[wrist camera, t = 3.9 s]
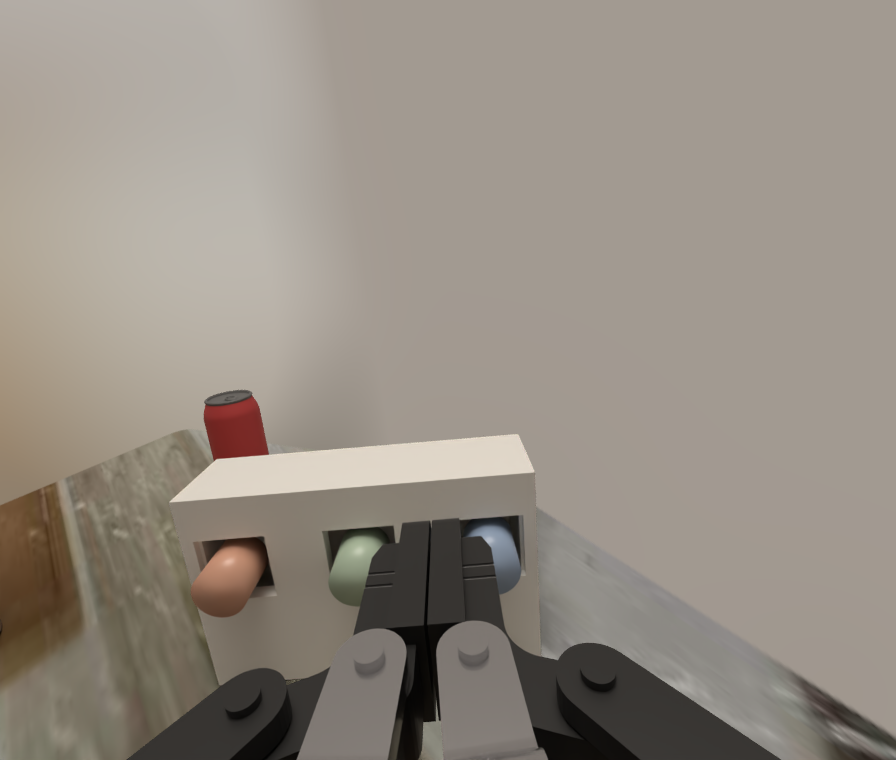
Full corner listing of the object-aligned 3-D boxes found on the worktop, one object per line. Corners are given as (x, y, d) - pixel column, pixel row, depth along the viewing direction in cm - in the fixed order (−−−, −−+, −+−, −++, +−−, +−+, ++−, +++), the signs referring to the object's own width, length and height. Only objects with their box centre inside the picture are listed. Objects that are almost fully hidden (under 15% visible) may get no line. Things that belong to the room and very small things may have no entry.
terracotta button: (198, 619, 26) (185, 573, 26) (225, 577, 30) (215, 536, 29) (251, 615, 26) (240, 569, 26) (273, 573, 30) (264, 532, 29)
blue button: (468, 597, 26) (463, 550, 26) (464, 558, 30) (461, 515, 29) (522, 593, 26) (520, 546, 26) (512, 554, 30) (510, 511, 29)
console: (219, 685, 31) (168, 502, 27) (254, 617, 36) (216, 459, 33) (541, 659, 30) (534, 472, 27) (525, 595, 36) (518, 434, 33)
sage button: (332, 608, 26) (324, 562, 26) (345, 567, 30) (338, 525, 29) (386, 604, 26) (380, 557, 26) (392, 564, 30) (387, 522, 29)
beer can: (232, 498, 56) (211, 407, 53) (212, 483, 60) (191, 399, 57) (281, 477, 61) (265, 392, 57) (259, 465, 65) (243, 386, 62)
